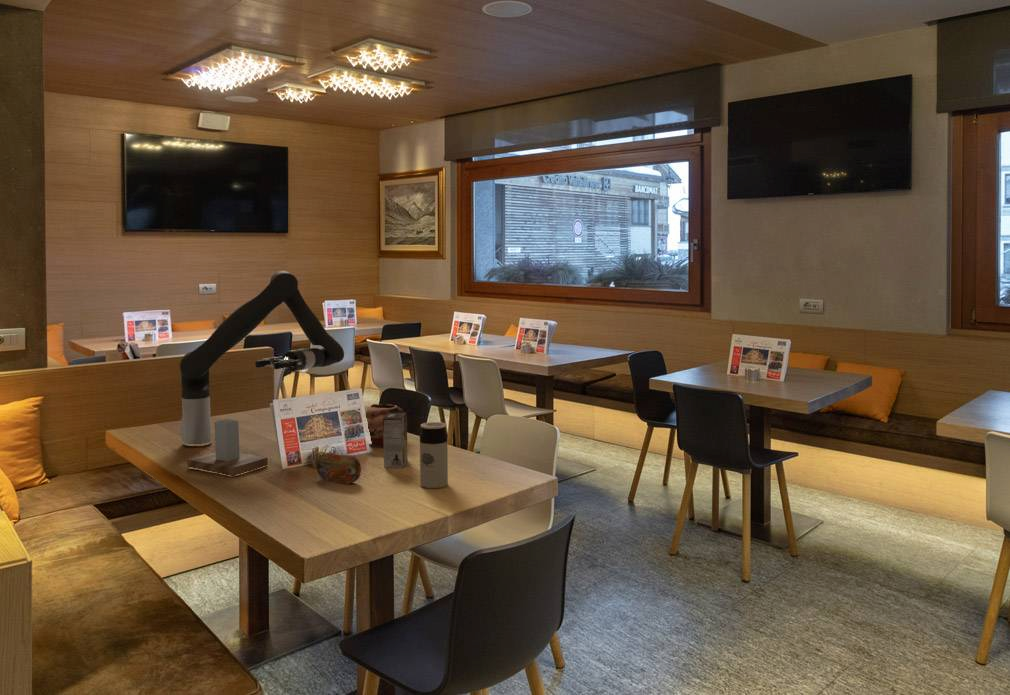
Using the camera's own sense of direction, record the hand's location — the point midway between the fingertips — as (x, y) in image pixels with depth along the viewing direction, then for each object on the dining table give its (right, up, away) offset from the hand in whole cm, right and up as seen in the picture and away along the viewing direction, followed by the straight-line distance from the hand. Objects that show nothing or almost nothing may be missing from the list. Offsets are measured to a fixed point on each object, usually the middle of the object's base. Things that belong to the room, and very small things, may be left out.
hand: (265, 365), depth 262 cm
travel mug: (+60, -34, -36) cm, 78 cm away
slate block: (-6, -29, -17) cm, 34 cm away
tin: (+32, -34, -32) cm, 57 cm away
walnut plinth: (-6, -32, -17) cm, 37 cm away
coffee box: (+46, -32, -12) cm, 57 cm away
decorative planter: (+38, -29, +16) cm, 50 cm away
